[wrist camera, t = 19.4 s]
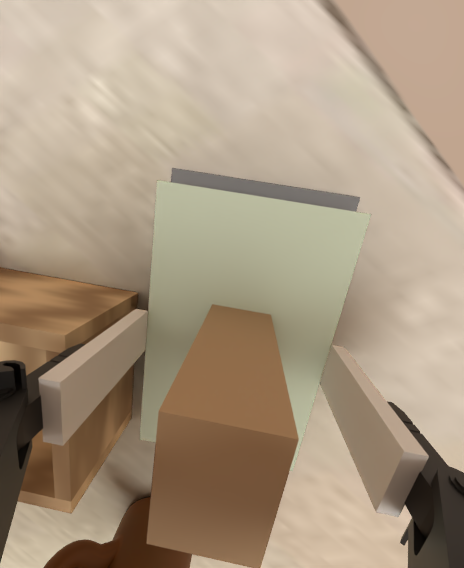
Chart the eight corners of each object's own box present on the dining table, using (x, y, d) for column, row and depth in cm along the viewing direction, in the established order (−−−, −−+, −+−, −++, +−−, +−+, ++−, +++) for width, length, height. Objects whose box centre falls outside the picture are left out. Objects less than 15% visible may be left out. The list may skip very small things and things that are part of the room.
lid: (171, 187, 14) (-20, 92, 4) (352, 216, 14) (623, 188, 4) (152, 414, 18) (39, 629, 9) (287, 442, 18) (331, 702, 8)
